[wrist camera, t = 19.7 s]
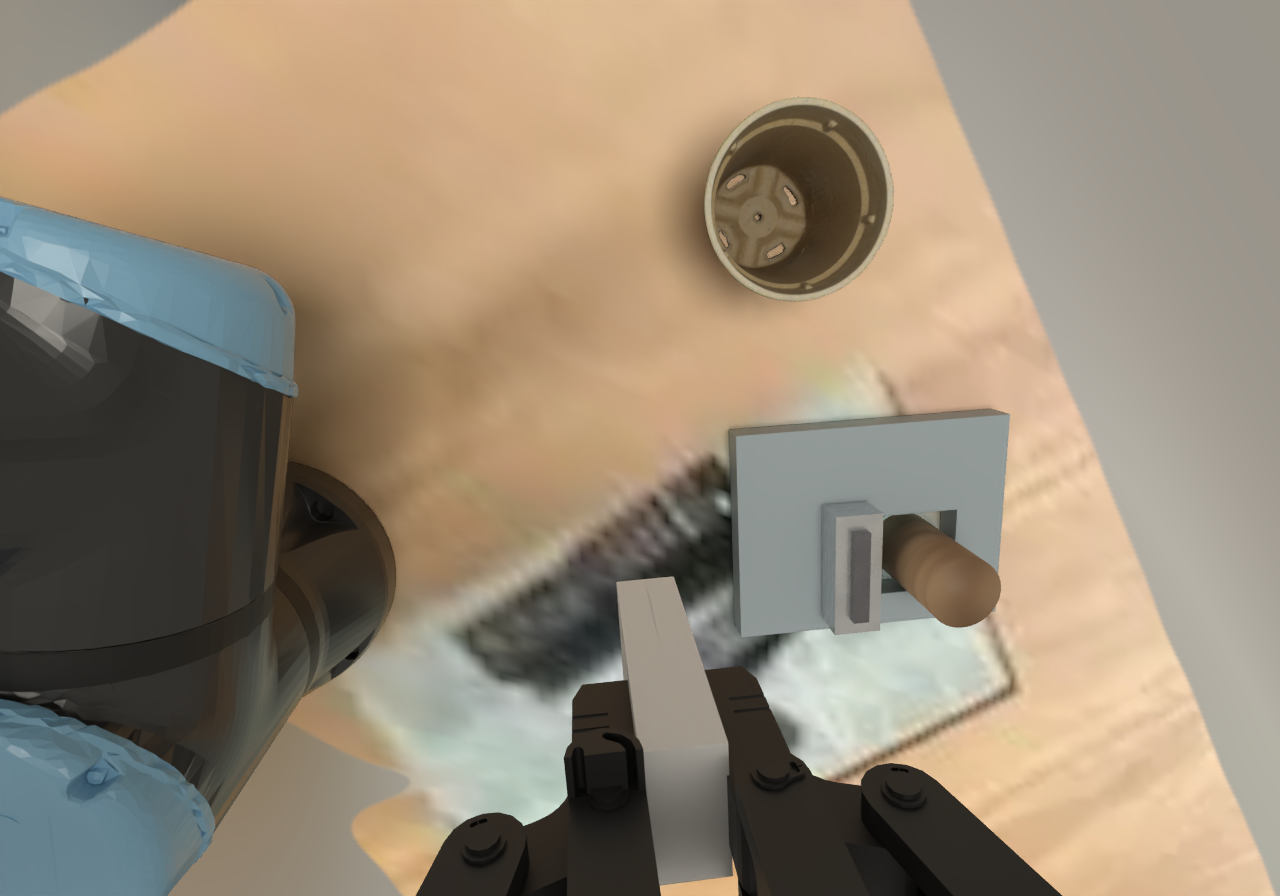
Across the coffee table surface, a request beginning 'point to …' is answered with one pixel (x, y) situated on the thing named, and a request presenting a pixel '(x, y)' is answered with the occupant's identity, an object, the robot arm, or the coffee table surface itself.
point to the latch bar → (851, 567)
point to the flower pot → (799, 199)
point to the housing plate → (849, 472)
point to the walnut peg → (939, 571)
